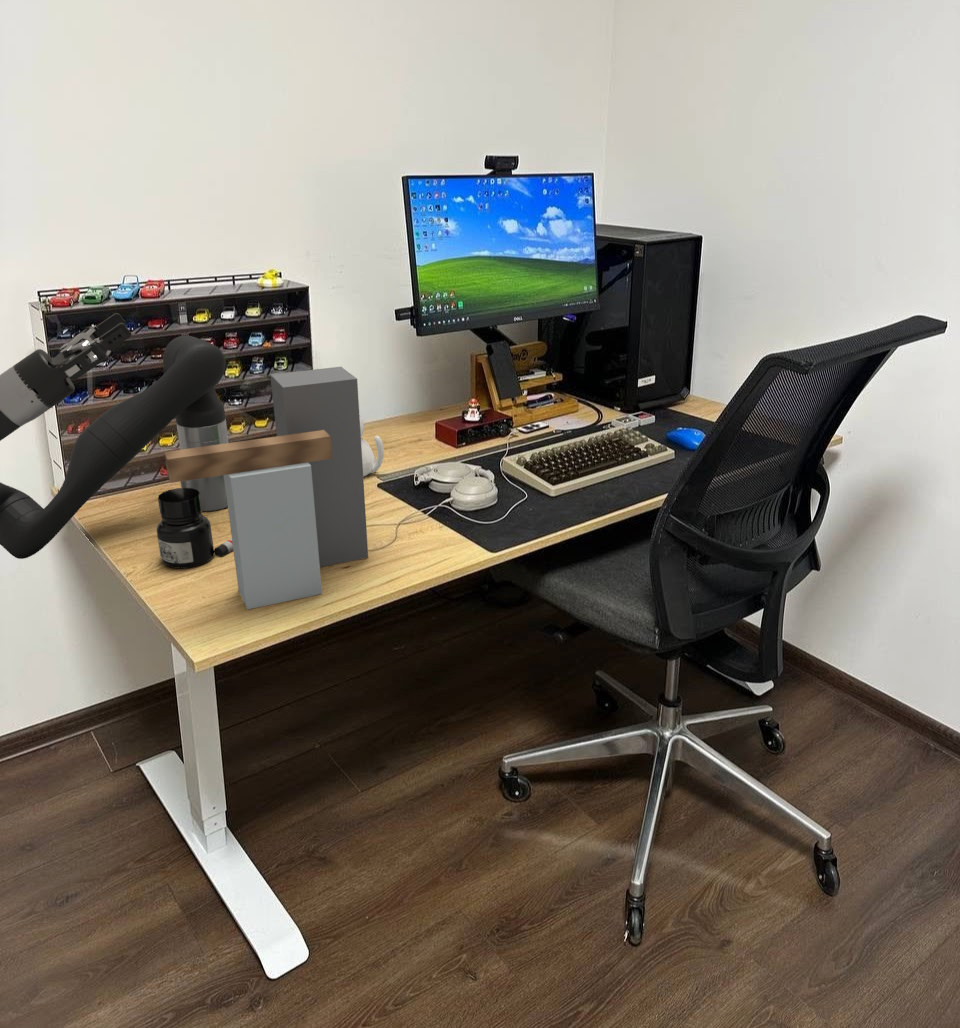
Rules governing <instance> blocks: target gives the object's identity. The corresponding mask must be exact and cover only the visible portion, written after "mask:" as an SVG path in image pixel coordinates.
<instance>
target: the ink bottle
mask: <svg viewBox="0 0 960 1028" xmlns="http://www.w3.org/2000/svg"><path fill="white" fill-rule="evenodd" d="M157 499H158V500H157V502H158V507H159V514H160V517H161V521H159V522H158V523H157V526H156V535H157V536H156V537H157V542H158V543H157V544H158V549H159V556H160V558H161V562H162V563H163V564H164V565H166V566H167V567H169V568H170V567H171V568H175V569H188V568H193V567H197V566H200V565H203V564H206V563H207V562H209V561H210V560H212V559H213V557H214V555H215V553H214V549H215V548H214V547H215V546H214V541H213V534H212V533H213V531H212V527H211V521H210V520H209V518H208V517H207V516H205V515H204V514H203V511H202V509H201V508H202V506H201V499H200V492H199V491H198V490H196V489H193V488H181V487H176V488H173V489H169V490H165V491H163V492H161V493H160V494H158V497H157Z"/></svg>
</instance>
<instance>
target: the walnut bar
mask: <svg viewBox="0 0 960 1028" xmlns="http://www.w3.org/2000/svg"><path fill="white" fill-rule="evenodd" d="M326 459H332V451H331V437H330V436H329V434H328V433H327V432H326V431H325V430H320V431H313V432H305V433H298V434H291V435H284V436H277V435H276V436H271V437H270V436H269V437H264V438H257V439H249V440H241V441H234V442H229V443H226V444H218V445H211V446H204V447H197V448H189V449H182V450H180V449H176V450H169V451H164V460H165V465H166V466H165V467H166V472H167V477H168V479H169V481H170V484H174V483H181V481H187V480H194V479H200V478H207V477H214V476H220V475H227V474H233V473H240V472H247V471H253V470H260V469H267V468H273V467H280V466H286V465H293V464H300V463H306V462H313V461H319V460H326Z"/></svg>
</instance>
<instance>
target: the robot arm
mask: <svg viewBox="0 0 960 1028" xmlns="http://www.w3.org/2000/svg"><path fill="white" fill-rule="evenodd" d="M131 337H132V331H130V329H129V328H128V327H127V322H126V320H124V318H123V316H122V315H121V314H120V313H118V312H115V313H113V314H112V315H110V316H109V317H107V318H106V319H104V320H102V322H100V323H99V324H97V325H93V326H92V325H90V326H86V327H85V329H84V330H82V331H81V332H79V333H78V334H77V335H75V336H74V337H72V338H71V339H69V340H68V341H67V342H65V343H64V344H62V345H60V346H59V348H57V350H58V351H59V353H58V354H57V355H55V356H54V357H51V355H50V354H48V352H46V351H45V350H43V349H42V348H41V349H40V348H38V349H35V350H34V351H33V352H31V353H29V354H28V355H27V356H26V357H24V358H23V359H21V360H19V361H18V362H17V363H16V364H14V365H12V366H11V367H9V368H8V369H7V370H5V371H3V372H2V373H1V374H0V442H1V441H2V440H4V439H5V438H7V437H8V436H10V435H11V434H12V433H14V432H15V431H17V430H18V429H20V428H21V427H23V426H25V425H26V424H28V423H30V422H32V421H34V420H35V419H38V418H39V417H41V415H43V414H45V413H46V412H47V411H49V410H50V409H52V408H53V407H54V406H56V405H58V404H59V403H60V402H62V401H63V400H65V399H66V398H67V397H69V396H70V395H71V394H73V393H74V392H75V390H76V388H75V386H74V383H73V382H74V381H78V380H79V378H80V377H82V376H83V375H85V374H86V373H88V372H90V371H91V370H92V369H94V368H96V367H97V366H98V365H100V364H101V363H103V362H105V361H106V360H108V358H109V355H110V354H111V352H112V350H114V349H115V348H116V347H118V346H119V345H121V344H122V343H124V342H125V341H126V340H129V339H130V338H131ZM162 356H163V357H162V367H163V375H162V376H161V377H159V379H157V380H156V381H155V382H154V383H153V384H151V385H150V386H149V387H148V388H146V389H145V390H143V391H142V392H139V393H136V394H135V395H132V396H131V397H129V398H127V399H125V400H122V401H121V402H119V403H117V404H115V405H113V406H112V407H110V408H109V409H107V410H106V411H104V412H103V413H101V414H100V415H99V417H97V418H96V419H95V420H94V421H93V422H91V423H90V424H89V425H88V427H86V428H85V429H84V430H83V431H82V432H81V433H80V434H79V435H78V437H77V438H76V440H75V443H74V445H73V449H72V451H71V455H70V459H69V462H68V467H67V472H66V475H65V477H64V480H63V483H62V485H61V487H60V488H59V490H58V491H57V493H56V494H55V495H54V497H53V498H52V499H51V501H50V502H49V503H48V504H47V505H46V506H45V507H42V506H41V504H39V503H38V502H37V501H36V500H34V498H32V497H31V496H30V495H29V494H27V493H25V492H23V491H22V490H20V489H17V488H14V487H13V486H10V485H6V484H4V483H3V482H0V545H1V546H2V548H3V549H4V550H5V551H7V552H8V553H9V554H10V555H11V556H12V557H14V558H15V559H20V560H23V559H28V558H30V557H32V556H33V555H36V554H37V553H39V552H40V551H41V550H42V549H44V547H46V546H47V545H48V544H49V543H50V542H52V540H53V539H54V538H55V537H56V536H57V535H58V533H59V532H61V531H62V530H63V528H64V527H65V526H66V525H67V524H68V523H69V522H70V520H72V519H73V517H74V516H75V515H76V514H77V513H78V512H79V510H80V509H81V508H82V507H83V506H84V504H86V503H87V502H88V501H89V500H90V498H92V496H94V495H95V494H96V493H97V492H98V491H99V490H100V489H101V488H102V487H103V486H104V485H106V483H108V482H109V481H110V480H111V479H112V478H113V477H115V475H116V474H118V473H119V472H120V471H121V470H122V469H123V468H125V466H126V465H128V464H129V462H131V461H132V460H133V459H134V458H135V457H136V456H138V454H139V453H140V452H141V451H142V450H143V449H144V448H145V447H146V446H147V445H148V444H149V443H150V442H151V441H152V440H153V439H154V438H155V437H157V436H158V435H159V434H160V433H161V431H163V430H164V429H165V428H166V427H167V426H168V425H169V424H170V423H171V422H172V421H173V420H174V419H175V422H176V428H177V429H176V430H177V437H178V442H179V450H182V449H189V448H197V447H204V446H211V445H218V444H226V443H230V442H229V441H230V440H229V434H228V428H227V419H226V411H225V407H224V404H223V403H222V401H221V400H220V398H219V396H218V395H217V392H216V389H215V387H216V386H217V384H219V382H220V381H221V380H222V378H223V376H224V374H225V370H226V364H227V363H226V357H225V355H224V353H223V352H222V350H221V349H220V348H218V346H216V345H215V344H213V343H210V342H209V341H206V340H204V339H200V338H198V337H195V336H191V335H180V336H177V337H175V338H173V339H172V340H170V342H169V343H168V344H167V345H166V347H165V349H164V353H163V355H162ZM180 488H193V489H196V490H198V491H199V492H200V499H201V506H202V508H201V509H202V512H208V511H209V512H212V511H219V510H222V509H225V508H228V504H227V496H226V488H225V481H224V475H220V476H214V477H207V478H200V479H194V480H187V481H181V482H180Z"/></svg>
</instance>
